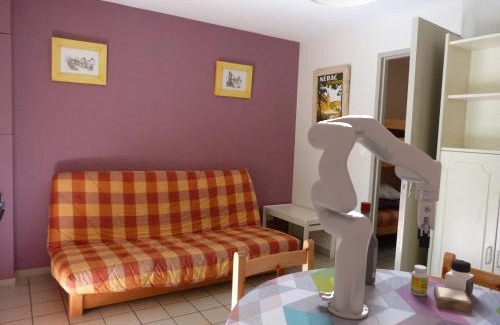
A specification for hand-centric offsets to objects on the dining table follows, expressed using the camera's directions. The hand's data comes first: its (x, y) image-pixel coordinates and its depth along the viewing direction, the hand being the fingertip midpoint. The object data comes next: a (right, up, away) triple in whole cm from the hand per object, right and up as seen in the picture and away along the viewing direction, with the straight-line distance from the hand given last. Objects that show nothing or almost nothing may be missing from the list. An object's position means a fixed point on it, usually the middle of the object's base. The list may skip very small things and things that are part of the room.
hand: (423, 243), depth 136 cm
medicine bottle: (+14, -19, +3) cm, 23 cm away
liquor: (-19, -17, +11) cm, 27 cm away
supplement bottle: (-1, -18, +2) cm, 18 cm away
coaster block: (+7, -19, -5) cm, 21 cm away
